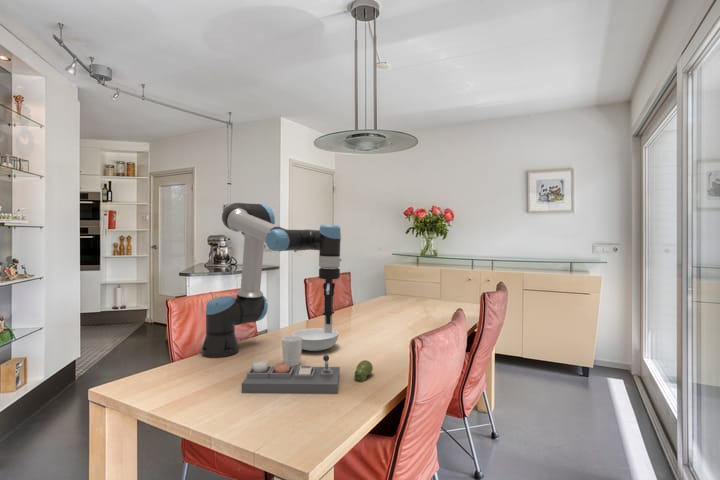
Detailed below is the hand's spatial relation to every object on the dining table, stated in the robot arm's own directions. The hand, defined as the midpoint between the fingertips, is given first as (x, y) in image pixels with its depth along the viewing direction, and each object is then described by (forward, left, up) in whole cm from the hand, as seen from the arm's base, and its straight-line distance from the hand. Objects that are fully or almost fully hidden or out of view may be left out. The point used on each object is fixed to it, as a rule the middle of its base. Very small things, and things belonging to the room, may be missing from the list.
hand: (328, 332), depth 140 cm
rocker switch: (+7, -7, -12) cm, 16 cm away
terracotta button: (+7, -15, -13) cm, 21 cm away
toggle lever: (+7, 0, -11) cm, 13 cm away
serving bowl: (-33, -8, -16) cm, 37 cm away
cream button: (+7, -23, -12) cm, 27 cm away
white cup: (-13, -15, -16) cm, 26 cm away
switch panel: (+7, -11, -16) cm, 21 cm away
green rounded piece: (+1, +13, -16) cm, 21 cm away
